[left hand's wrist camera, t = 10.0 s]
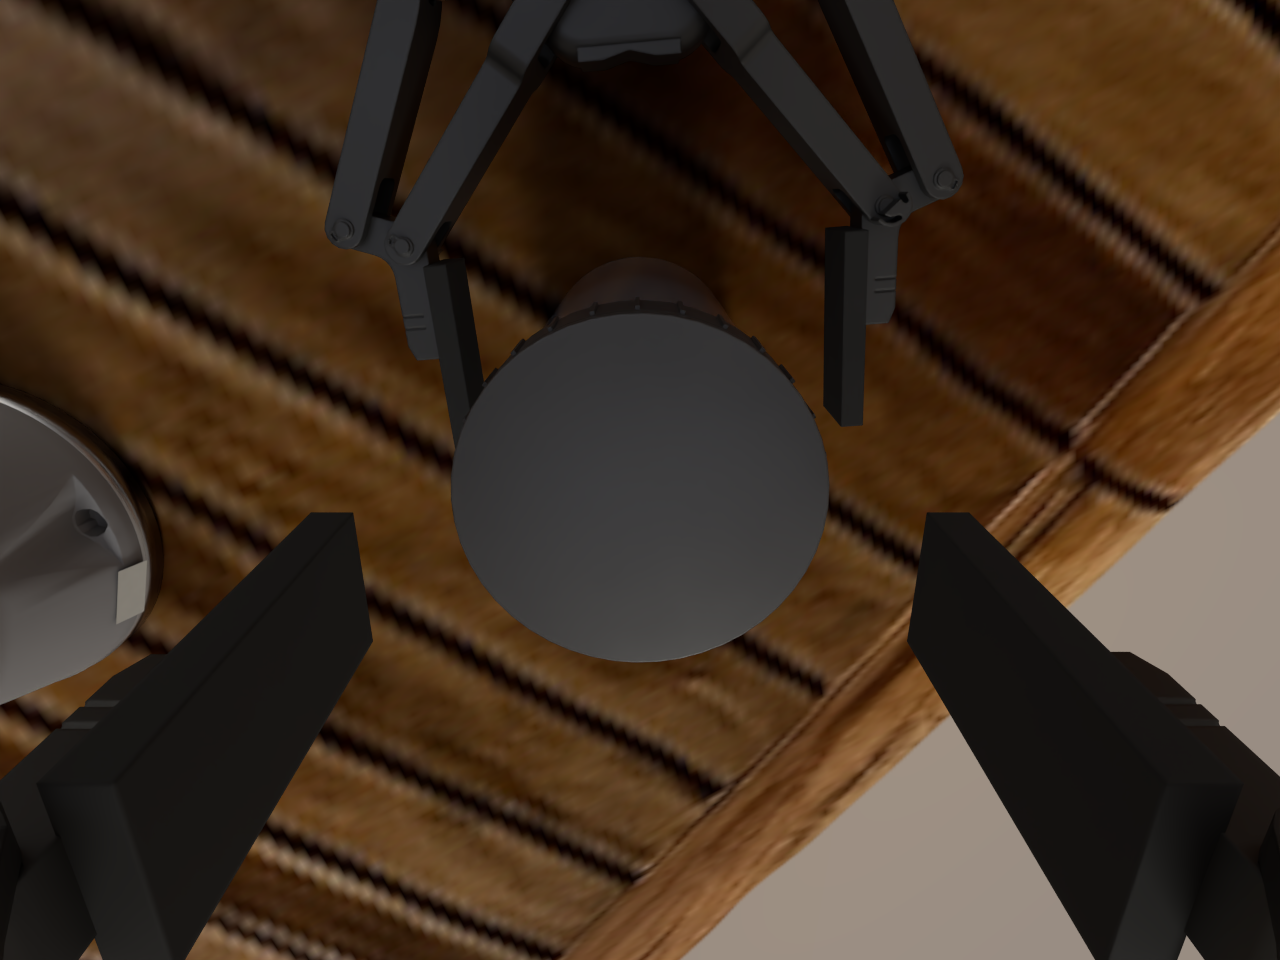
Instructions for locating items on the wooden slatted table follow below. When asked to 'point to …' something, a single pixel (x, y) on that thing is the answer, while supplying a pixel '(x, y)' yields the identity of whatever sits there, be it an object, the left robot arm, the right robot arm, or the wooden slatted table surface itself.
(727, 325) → the lid
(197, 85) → the wooden slatted table surface
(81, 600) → the left robot arm
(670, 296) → the jar
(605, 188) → the wooden slatted table surface
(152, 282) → the wooden slatted table surface
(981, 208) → the wooden slatted table surface
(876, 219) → the right robot arm
